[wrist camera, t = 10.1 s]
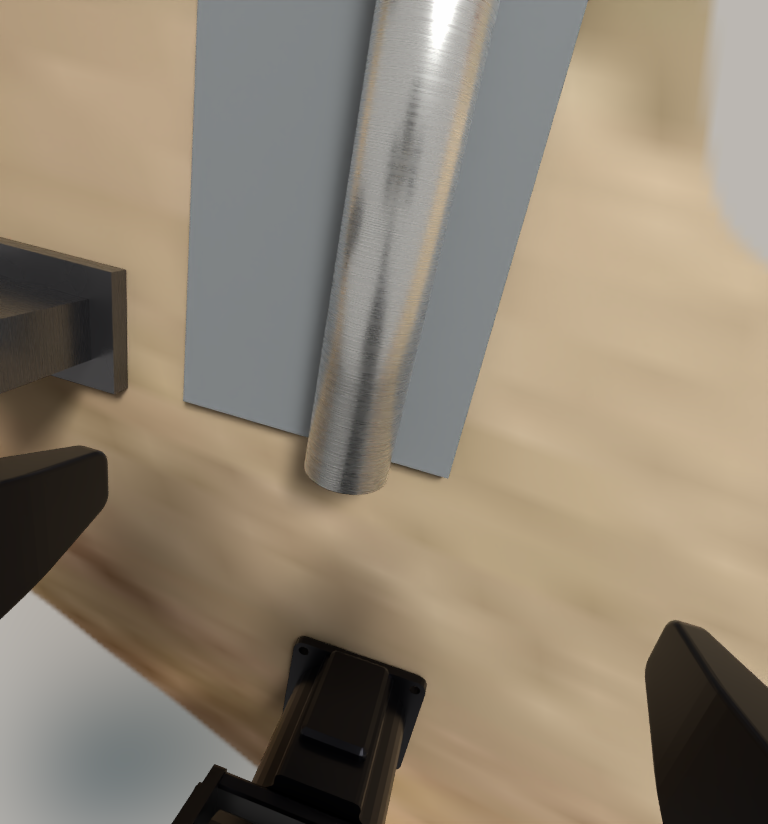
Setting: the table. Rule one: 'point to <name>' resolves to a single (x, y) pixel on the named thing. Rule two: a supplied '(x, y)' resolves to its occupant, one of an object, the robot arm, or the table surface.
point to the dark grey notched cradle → (61, 319)
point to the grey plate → (324, 204)
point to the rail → (393, 228)
